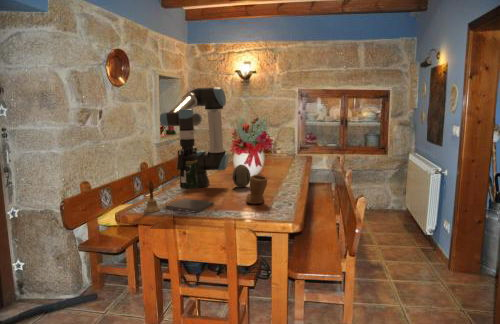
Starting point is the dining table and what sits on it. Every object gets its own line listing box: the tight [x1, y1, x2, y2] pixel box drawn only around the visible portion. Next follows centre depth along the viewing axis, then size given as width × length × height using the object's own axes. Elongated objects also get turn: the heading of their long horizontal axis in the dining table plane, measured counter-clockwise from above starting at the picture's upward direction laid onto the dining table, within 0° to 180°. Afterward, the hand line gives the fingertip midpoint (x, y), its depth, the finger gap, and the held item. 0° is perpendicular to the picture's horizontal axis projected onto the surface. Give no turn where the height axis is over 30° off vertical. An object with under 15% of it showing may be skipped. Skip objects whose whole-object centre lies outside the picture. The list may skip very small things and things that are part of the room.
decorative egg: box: [232, 164, 252, 188], centre depth 249 cm, size 12×12×15 cm
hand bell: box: [143, 179, 161, 213], centre depth 199 cm, size 8×8×16 cm
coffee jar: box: [179, 153, 199, 190], centre depth 203 cm, size 10×8×19 cm
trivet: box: [165, 198, 214, 213], centre depth 206 cm, size 20×16×2 cm
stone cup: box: [245, 174, 268, 205], centre depth 213 cm, size 15×12×15 cm
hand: (188, 180), depth 204 cm, fingers closed on coffee jar, 8 cm apart
